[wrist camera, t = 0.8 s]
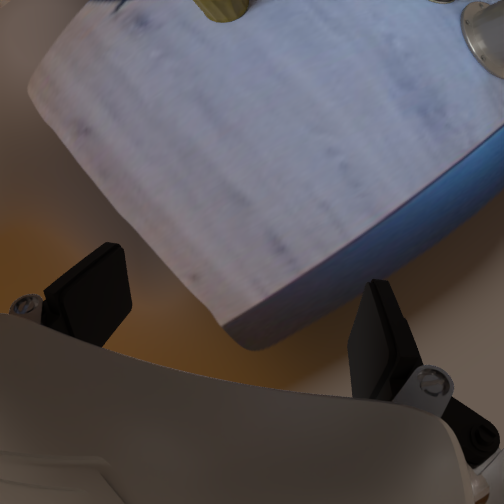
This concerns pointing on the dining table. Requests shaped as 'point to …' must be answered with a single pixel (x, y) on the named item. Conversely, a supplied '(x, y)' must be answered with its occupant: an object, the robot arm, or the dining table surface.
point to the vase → (223, 9)
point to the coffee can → (442, 1)
